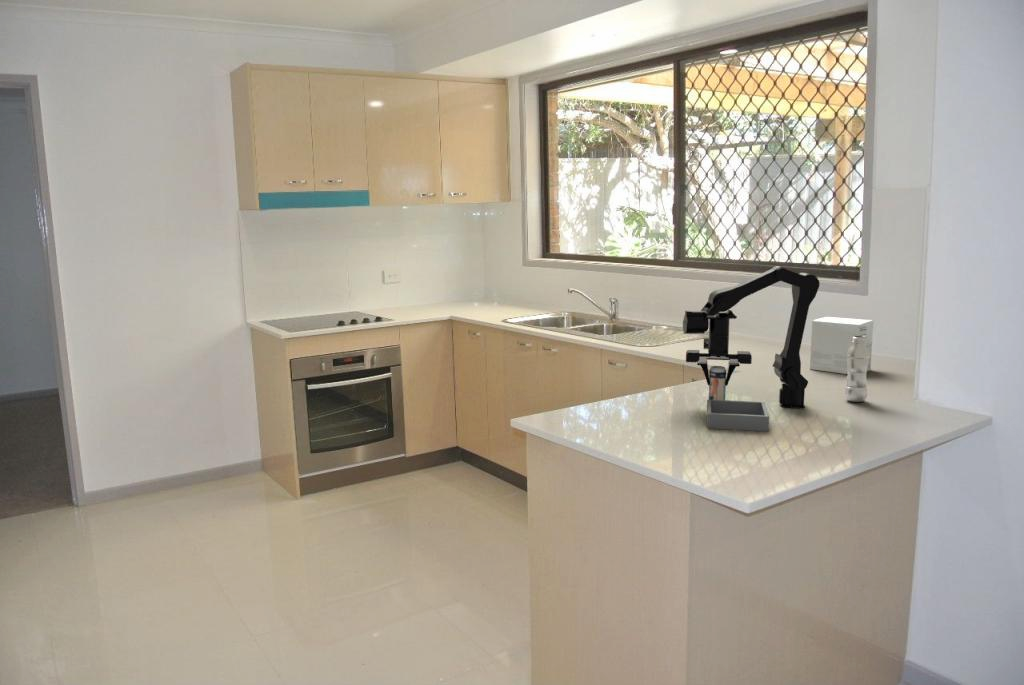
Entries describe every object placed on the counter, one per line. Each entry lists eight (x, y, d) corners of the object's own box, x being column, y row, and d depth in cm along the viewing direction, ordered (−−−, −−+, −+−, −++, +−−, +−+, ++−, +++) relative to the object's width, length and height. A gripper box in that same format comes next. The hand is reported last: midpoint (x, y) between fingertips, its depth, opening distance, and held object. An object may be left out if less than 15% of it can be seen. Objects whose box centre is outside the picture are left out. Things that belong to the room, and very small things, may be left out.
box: (764, 415, 231) (764, 401, 230) (768, 431, 216) (769, 416, 215) (706, 412, 235) (707, 399, 234) (707, 428, 219) (707, 413, 219)
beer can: (706, 404, 244) (707, 365, 242) (721, 404, 244) (723, 365, 242) (711, 408, 239) (712, 369, 237) (727, 408, 240) (728, 368, 237)
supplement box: (871, 370, 288) (874, 319, 285) (857, 376, 279) (860, 324, 276) (823, 363, 300) (826, 315, 297) (808, 369, 291) (811, 319, 287)
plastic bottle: (867, 399, 247) (871, 335, 243) (866, 405, 241) (870, 339, 237) (844, 398, 249) (848, 334, 246) (843, 403, 243) (847, 337, 240)
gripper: (750, 329, 244) (748, 380, 246) (686, 328, 248) (685, 378, 250) (752, 336, 233) (750, 388, 236) (686, 334, 237) (685, 386, 240)
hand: (717, 385), depth 241 cm, fingers closed on beer can, 5 cm apart
